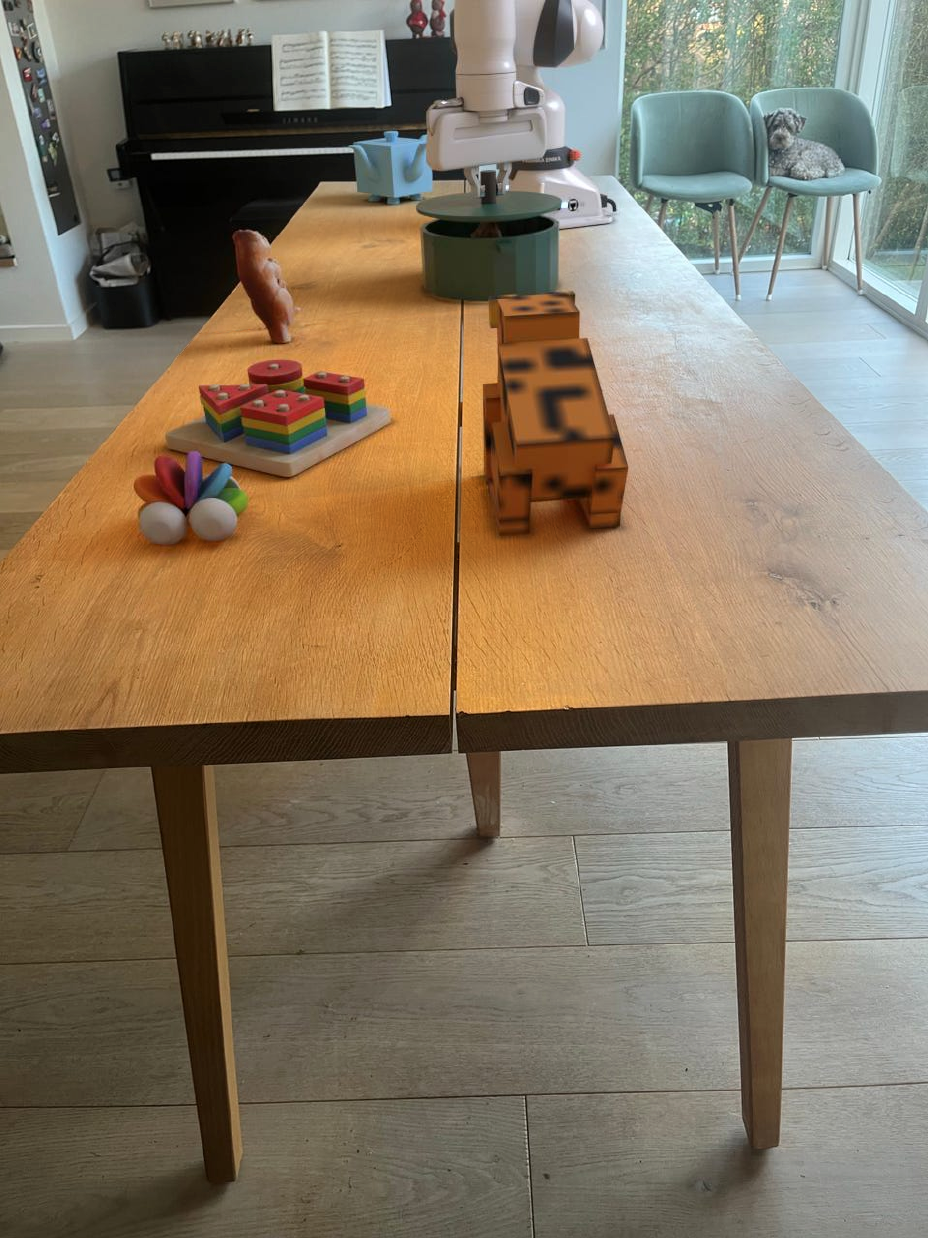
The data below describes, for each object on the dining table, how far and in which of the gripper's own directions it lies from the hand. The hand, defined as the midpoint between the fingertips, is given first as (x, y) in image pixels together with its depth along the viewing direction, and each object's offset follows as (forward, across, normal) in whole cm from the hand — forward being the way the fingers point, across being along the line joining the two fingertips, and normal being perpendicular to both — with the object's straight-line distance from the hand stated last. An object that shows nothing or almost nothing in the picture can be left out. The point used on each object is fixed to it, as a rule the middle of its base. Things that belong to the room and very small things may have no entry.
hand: (488, 196), depth 152 cm
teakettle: (+14, +32, +84) cm, 91 cm away
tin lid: (+2, 0, 0) cm, 2 cm away
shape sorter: (+14, -54, -39) cm, 68 cm away
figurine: (+14, -40, -5) cm, 43 cm away
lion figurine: (+13, -1, 0) cm, 13 cm away
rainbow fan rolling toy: (+14, -70, -55) cm, 90 cm away
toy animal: (+14, -41, -68) cm, 81 cm away
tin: (+14, 0, 0) cm, 14 cm away
